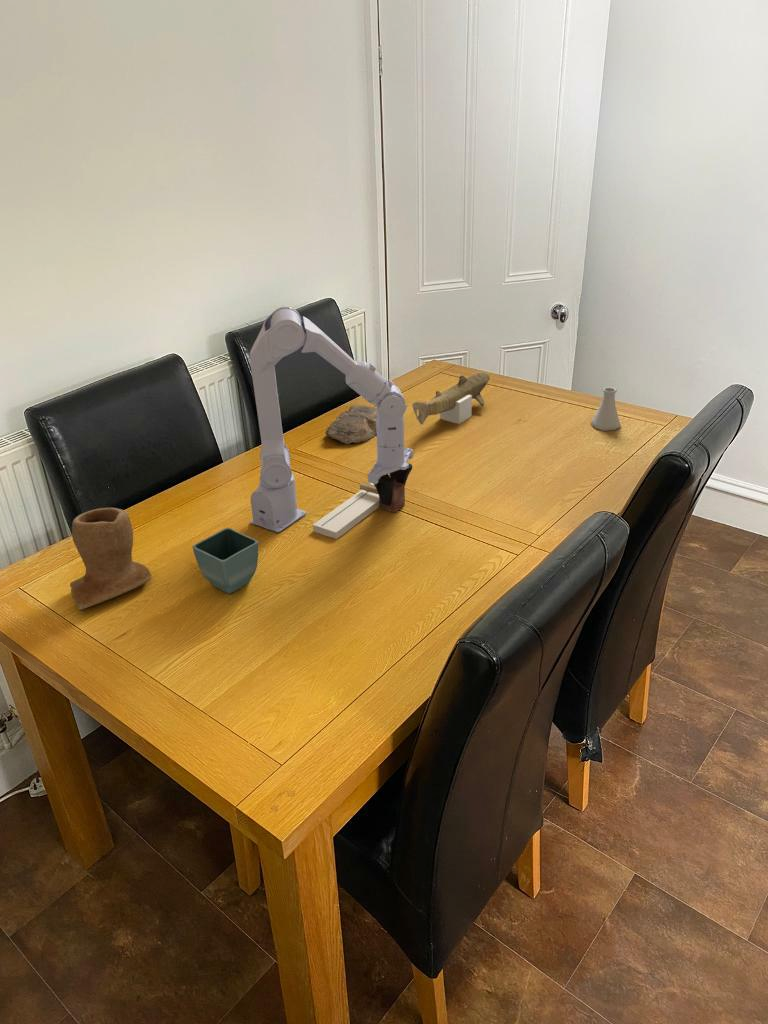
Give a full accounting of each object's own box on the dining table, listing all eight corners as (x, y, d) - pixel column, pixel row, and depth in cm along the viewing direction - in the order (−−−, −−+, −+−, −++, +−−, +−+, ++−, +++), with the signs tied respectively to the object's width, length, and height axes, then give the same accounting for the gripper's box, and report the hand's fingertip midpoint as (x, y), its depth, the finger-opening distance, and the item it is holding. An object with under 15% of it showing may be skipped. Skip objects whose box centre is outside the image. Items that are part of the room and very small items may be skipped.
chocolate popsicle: (394, 512, 173) (394, 492, 170) (356, 500, 178) (355, 480, 175) (404, 504, 176) (404, 484, 173) (367, 493, 181) (366, 473, 178)
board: (336, 539, 164) (336, 532, 163) (313, 531, 167) (312, 524, 166) (395, 494, 180) (395, 487, 179) (373, 487, 183) (372, 481, 182)
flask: (585, 423, 211) (589, 387, 206) (607, 418, 213) (612, 382, 208) (602, 433, 205) (607, 396, 200) (625, 428, 208) (630, 391, 203)
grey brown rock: (354, 452, 200) (399, 423, 214) (352, 434, 198) (398, 406, 212) (310, 441, 207) (356, 413, 221) (308, 424, 205) (354, 397, 219)
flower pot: (233, 565, 157) (227, 526, 152) (264, 581, 152) (259, 540, 148) (197, 586, 151) (190, 546, 147) (229, 603, 146) (222, 562, 142)
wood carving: (398, 439, 205) (398, 398, 200) (471, 396, 229) (472, 358, 223) (428, 448, 200) (428, 406, 195) (499, 402, 224) (501, 364, 219)
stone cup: (133, 559, 160) (118, 493, 152) (160, 585, 152) (146, 516, 144) (57, 589, 152) (37, 520, 144) (81, 618, 143) (62, 547, 136)
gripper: (387, 459, 160) (389, 518, 167) (425, 433, 171) (425, 490, 178) (358, 452, 164) (361, 510, 171) (397, 426, 174) (398, 482, 181)
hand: (391, 499), depth 174 cm, fingers closed on chocolate popsicle, 4 cm apart
